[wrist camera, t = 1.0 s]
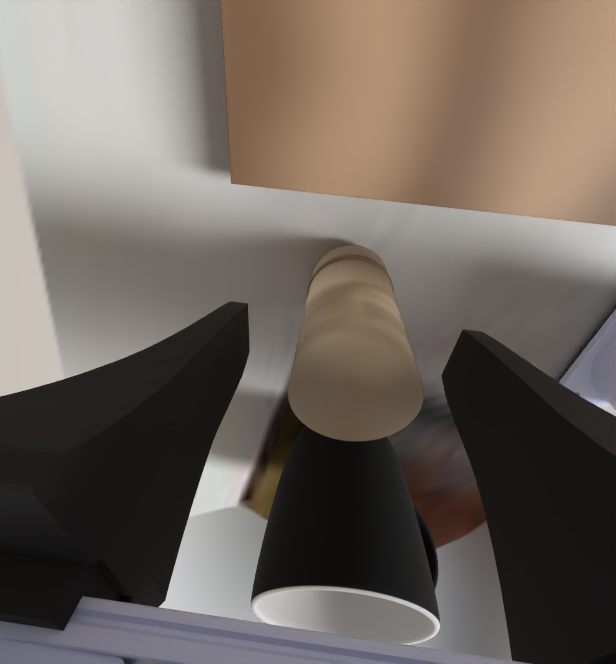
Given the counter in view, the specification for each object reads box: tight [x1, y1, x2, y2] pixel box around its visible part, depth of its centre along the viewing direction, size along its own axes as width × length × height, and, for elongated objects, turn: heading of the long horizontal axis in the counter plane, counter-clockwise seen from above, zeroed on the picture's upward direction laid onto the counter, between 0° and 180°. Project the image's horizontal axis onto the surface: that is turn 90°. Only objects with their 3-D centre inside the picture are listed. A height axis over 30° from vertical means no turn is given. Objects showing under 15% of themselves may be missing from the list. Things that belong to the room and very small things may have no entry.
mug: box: [251, 425, 440, 645], centre depth 19 cm, size 12×9×10 cm
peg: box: [288, 245, 424, 441], centre depth 12 cm, size 4×4×8 cm
